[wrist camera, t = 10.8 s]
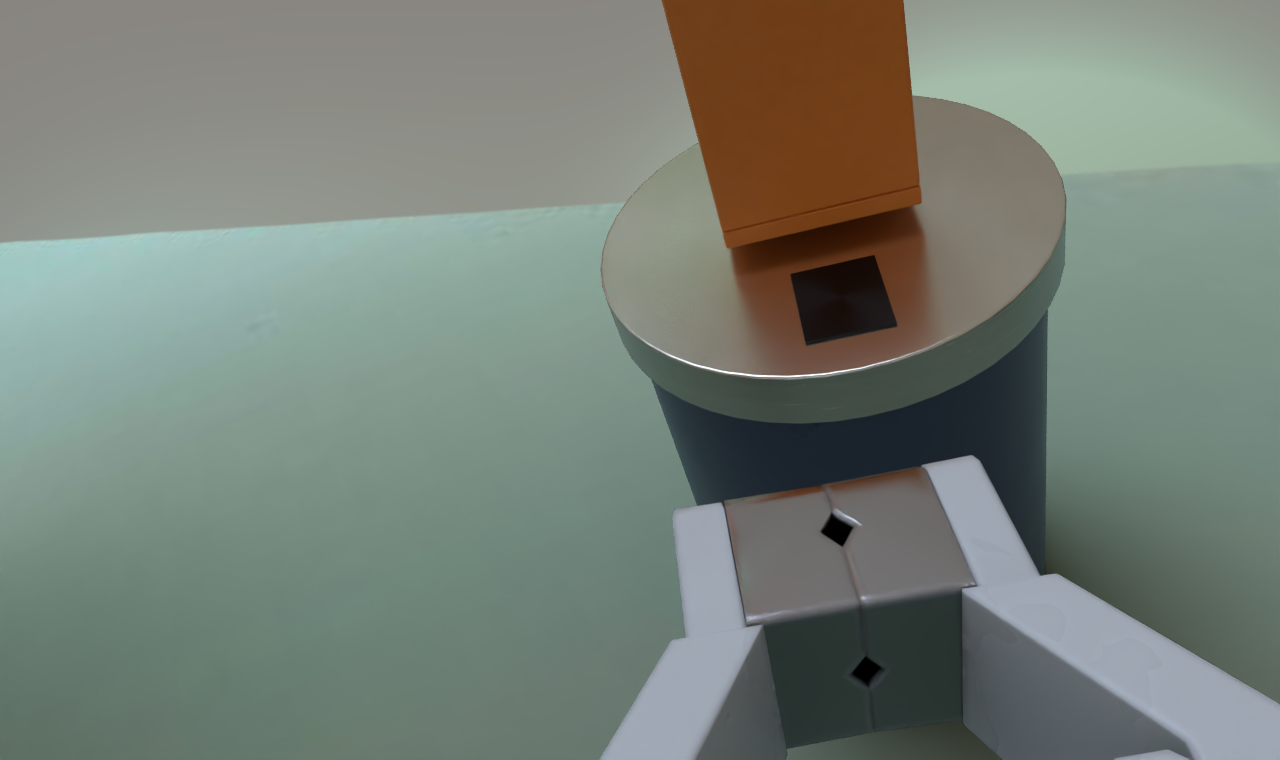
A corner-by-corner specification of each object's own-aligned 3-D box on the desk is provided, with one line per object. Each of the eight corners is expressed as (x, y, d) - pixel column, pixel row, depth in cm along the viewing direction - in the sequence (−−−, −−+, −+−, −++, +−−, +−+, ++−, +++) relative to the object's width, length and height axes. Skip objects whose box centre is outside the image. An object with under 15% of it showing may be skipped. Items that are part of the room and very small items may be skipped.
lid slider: (922, 204, 19) (896, -91, 15) (726, 250, 20) (655, -23, 16) (884, 112, 22) (853, -158, 18) (712, 155, 22) (649, -98, 18)
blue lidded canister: (1110, 687, 24) (1148, 307, 16) (736, 744, 26) (597, 422, 17) (1000, 417, 31) (987, 53, 23) (710, 474, 32) (600, 152, 24)
